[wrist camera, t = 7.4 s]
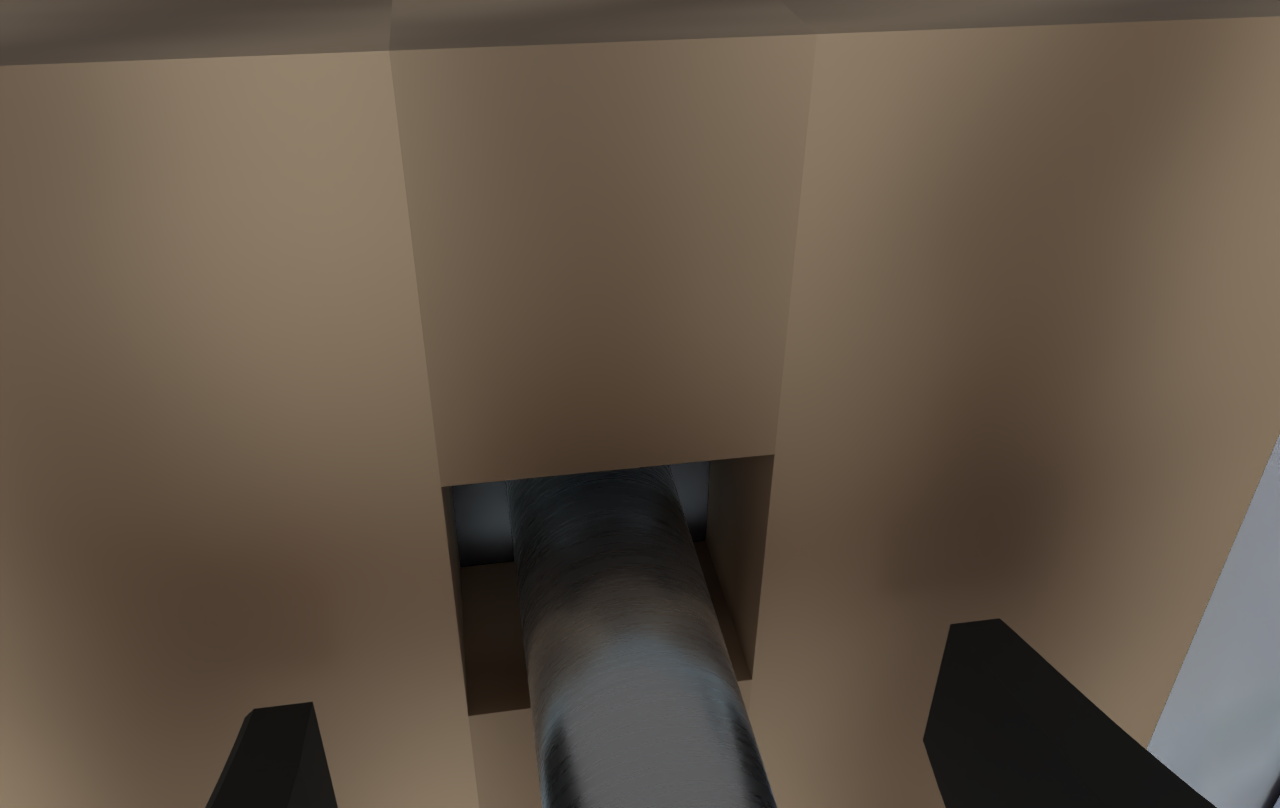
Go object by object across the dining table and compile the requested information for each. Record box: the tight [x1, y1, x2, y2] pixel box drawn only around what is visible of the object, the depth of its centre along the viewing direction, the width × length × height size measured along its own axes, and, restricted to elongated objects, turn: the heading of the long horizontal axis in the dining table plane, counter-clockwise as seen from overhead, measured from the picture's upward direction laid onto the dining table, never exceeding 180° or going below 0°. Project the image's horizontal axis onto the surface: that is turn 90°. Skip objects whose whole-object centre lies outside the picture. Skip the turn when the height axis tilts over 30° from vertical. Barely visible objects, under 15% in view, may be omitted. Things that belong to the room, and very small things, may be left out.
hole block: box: [0, 0, 1280, 808], centre depth 15 cm, size 18×14×3 cm
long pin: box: [506, 465, 777, 808], centre depth 13 cm, size 2×2×8 cm
